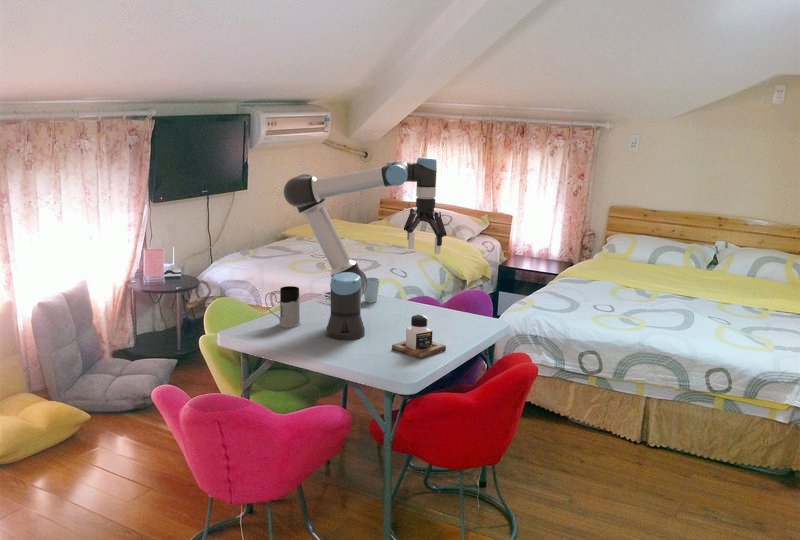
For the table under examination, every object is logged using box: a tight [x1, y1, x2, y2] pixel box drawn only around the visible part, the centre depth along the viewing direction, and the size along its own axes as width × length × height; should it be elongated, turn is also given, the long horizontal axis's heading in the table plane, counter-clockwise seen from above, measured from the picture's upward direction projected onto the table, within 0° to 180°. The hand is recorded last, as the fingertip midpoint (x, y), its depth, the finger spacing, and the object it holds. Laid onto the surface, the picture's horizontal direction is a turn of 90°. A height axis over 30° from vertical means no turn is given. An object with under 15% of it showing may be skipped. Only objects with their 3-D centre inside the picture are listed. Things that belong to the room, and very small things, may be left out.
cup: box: [363, 277, 380, 304], centre depth 321 cm, size 8×8×10 cm
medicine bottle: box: [405, 314, 433, 351], centre depth 257 cm, size 7×7×12 cm
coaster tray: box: [391, 340, 447, 360], centre depth 258 cm, size 14×14×2 cm
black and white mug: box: [264, 285, 302, 328], centre depth 282 cm, size 9×14×15 cm, turn 109°
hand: (423, 251), depth 277 cm, fingers open, 13 cm apart
